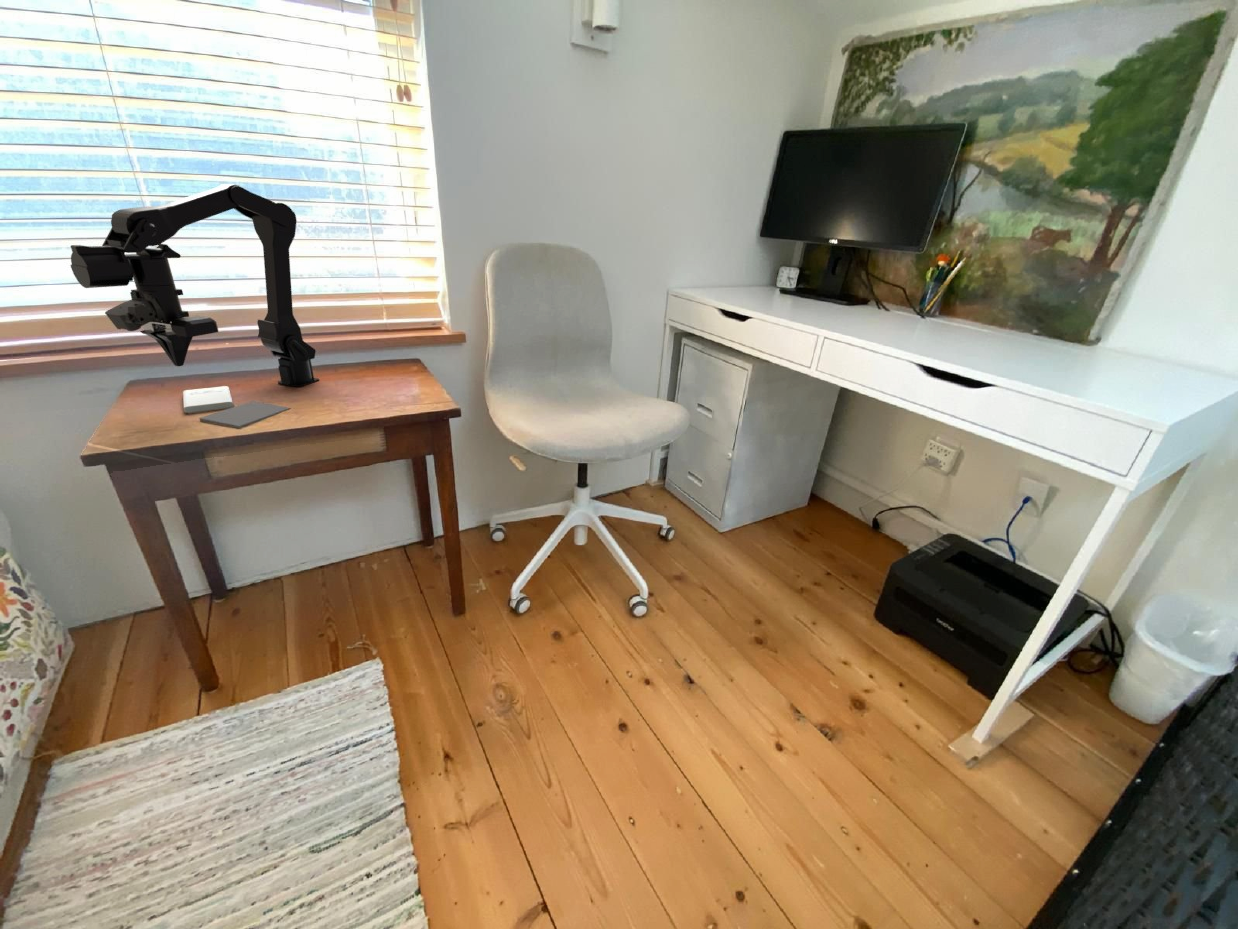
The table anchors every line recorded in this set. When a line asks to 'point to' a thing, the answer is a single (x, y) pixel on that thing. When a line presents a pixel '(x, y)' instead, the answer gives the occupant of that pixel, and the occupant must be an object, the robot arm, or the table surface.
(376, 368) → the table surface
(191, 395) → the external hard drive
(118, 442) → the table surface
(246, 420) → the desk mat
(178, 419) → the table surface
